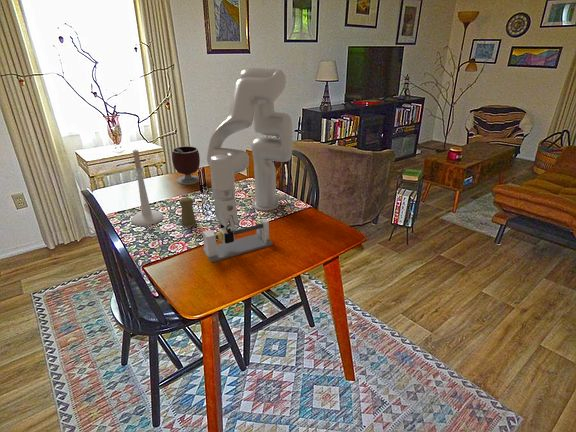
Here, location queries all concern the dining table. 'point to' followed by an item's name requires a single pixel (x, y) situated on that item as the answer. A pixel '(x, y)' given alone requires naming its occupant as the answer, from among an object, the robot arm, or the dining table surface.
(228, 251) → the grey rod stand
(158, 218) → the candlestick
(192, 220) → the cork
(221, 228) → the sleeve
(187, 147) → the mate gourd
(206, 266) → the dining table surface
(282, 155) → the robot arm
